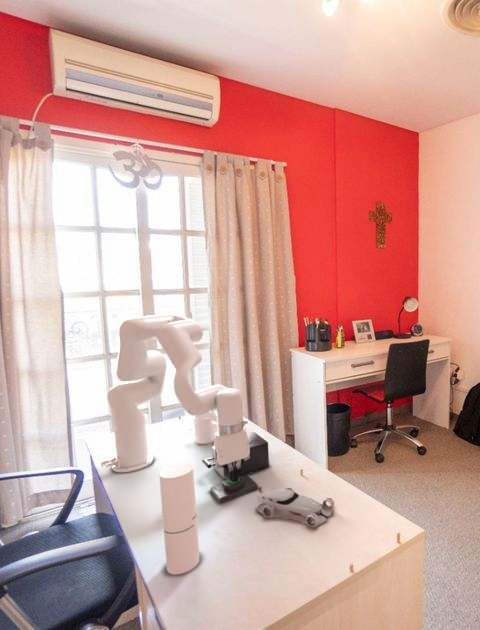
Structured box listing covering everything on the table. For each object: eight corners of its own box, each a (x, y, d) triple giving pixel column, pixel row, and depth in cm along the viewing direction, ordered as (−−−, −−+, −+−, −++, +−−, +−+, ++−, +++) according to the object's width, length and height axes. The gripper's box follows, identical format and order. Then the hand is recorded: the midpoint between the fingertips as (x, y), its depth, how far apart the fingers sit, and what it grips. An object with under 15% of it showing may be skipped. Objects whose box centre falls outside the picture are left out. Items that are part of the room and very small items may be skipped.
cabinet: (228, 480, 144) (226, 454, 143) (216, 467, 153) (214, 443, 152) (269, 466, 154) (268, 442, 153) (255, 455, 163) (254, 431, 162)
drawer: (210, 483, 141) (209, 461, 140) (200, 471, 149) (199, 450, 148) (262, 466, 153) (261, 445, 152) (250, 455, 161) (249, 436, 160)
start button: (230, 489, 135) (230, 484, 135) (226, 484, 138) (226, 479, 138) (241, 485, 138) (241, 480, 138) (237, 481, 140) (237, 476, 140)
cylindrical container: (204, 553, 108) (198, 463, 105) (190, 574, 101) (183, 477, 98) (176, 554, 108) (169, 463, 105) (160, 574, 101) (152, 478, 98)
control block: (220, 503, 131) (219, 493, 130) (210, 491, 137) (210, 481, 137) (257, 489, 139) (257, 479, 139) (247, 479, 145) (246, 469, 145)
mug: (191, 441, 175) (189, 416, 174) (211, 434, 182) (210, 410, 181) (205, 449, 168) (204, 422, 167) (226, 441, 175) (225, 416, 174)
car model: (317, 530, 118) (317, 514, 117) (248, 513, 126) (247, 497, 125) (337, 508, 128) (337, 493, 128) (272, 494, 136) (271, 479, 136)
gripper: (249, 418, 143) (252, 468, 145) (202, 430, 133) (206, 484, 135) (258, 424, 138) (261, 476, 140) (210, 437, 127) (213, 493, 130)
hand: (234, 480), depth 138 cm, fingers closed
